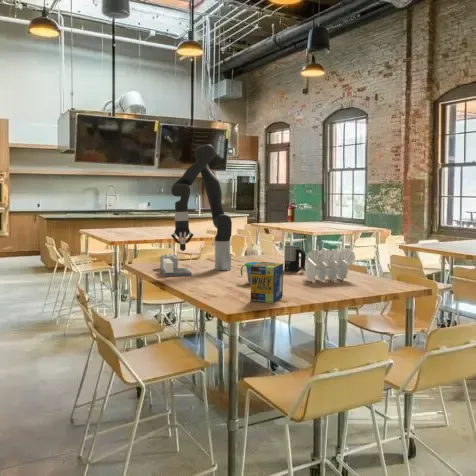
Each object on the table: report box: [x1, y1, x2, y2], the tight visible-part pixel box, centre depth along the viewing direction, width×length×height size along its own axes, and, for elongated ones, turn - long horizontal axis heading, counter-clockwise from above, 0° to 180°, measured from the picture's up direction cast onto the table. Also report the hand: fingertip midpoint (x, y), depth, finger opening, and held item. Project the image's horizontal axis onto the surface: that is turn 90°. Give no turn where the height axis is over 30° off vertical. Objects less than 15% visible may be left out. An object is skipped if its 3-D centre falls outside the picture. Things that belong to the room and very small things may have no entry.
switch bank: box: [160, 267, 192, 278], centre depth 302 cm, size 15×19×2 cm
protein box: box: [250, 261, 284, 304], centre depth 233 cm, size 10×15×16 cm
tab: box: [165, 262, 173, 273], centre depth 294 cm, size 4×4×6 cm
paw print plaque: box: [159, 253, 179, 270], centre depth 321 cm, size 10×13×9 cm
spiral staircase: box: [304, 247, 356, 282], centre depth 280 cm, size 18×18×25 cm
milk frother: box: [283, 244, 307, 272], centre depth 316 cm, size 14×16×15 cm
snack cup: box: [240, 261, 260, 284], centre depth 273 cm, size 16×10×10 cm
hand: (182, 250), depth 295 cm, fingers closed
